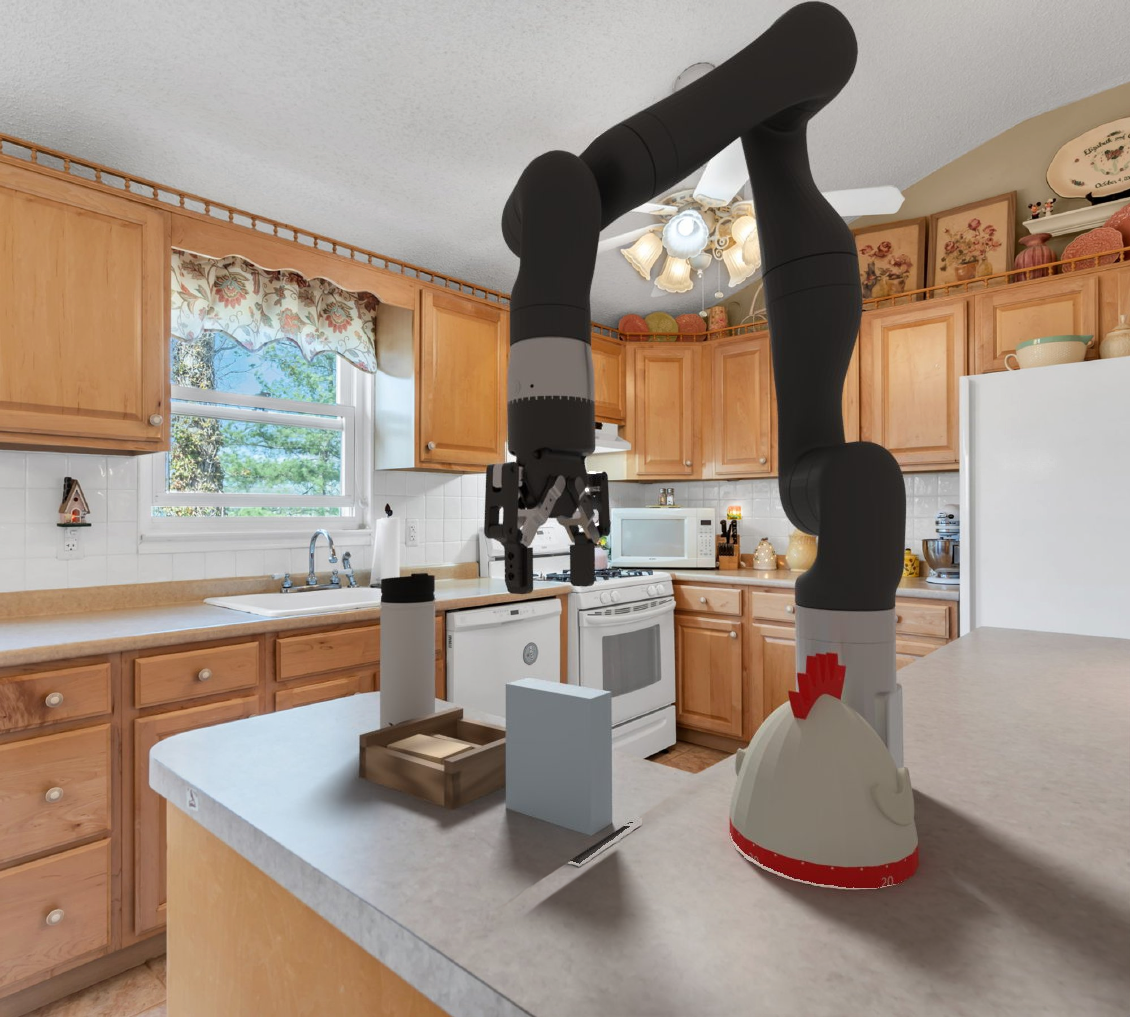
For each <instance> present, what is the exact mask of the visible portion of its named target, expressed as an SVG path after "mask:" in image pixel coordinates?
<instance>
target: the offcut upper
mask: <svg viewBox="0 0 1130 1017" xmlns="http://www.w3.org/2000/svg"><path fill="white" fill-rule="evenodd" d="M387 749H390V750H394V751H397V752H400V753H404V754H407V755H410V756H414V757H417V758H421V759H424V760H427V761H431V762H434V763H437V764H441V765H444V760H445V759H448V758H450V757H453V756H456V755H459V754H461V753H464V752H467V751H470V750H471V746H470V745H465V744H461V743H456V742H452V741H447V740H443V739H438V738H434V737H429V736H425V735H421V734H418V735H415V736H412V737H409V738H406V739H404V740H401V741H398V742H395V743H392V744H389V745H387Z"/></svg>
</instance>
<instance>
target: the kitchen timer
mask: <svg viewBox="0 0 1130 1017" xmlns="http://www.w3.org/2000/svg"><path fill="white" fill-rule="evenodd" d="M845 672H846V666H844V665H838V654H837V653H829V652H826V654H820V653H816V655H815V656H809V655H807V658H806V674H805V673H799V672H797V681H798V688H799V692H796V691H794V690H793V691H792V690H788V691H787V693H788V699H789V700H788V701H786V702H784V703H783V704H781V705H780V706H778V707H777V708H776V709H775V710H773V712H771V714H769V715H768V716H767V717H766V719H765V720H764V721H763V722H762V724H761V725H760V726H759V728H758V729H757V731H756V732H755V733H754V736H752V739H751V740H750V742H749V745H748V747H747V749H746V750H745V749H742V748H738V749H737V750H736V755H735V774H736V776H737V778H736V780H735V785H734V788H733V791H732V796H731V801H730V805H729V806H730V807H729V819H728V820H729V834H730V833H731V836H732V839H733V841H734V842H735V843H736V844H737V846H739V848H740V849H741V850H742V851H743V852H744V853H745V854H747V855H748V856H750V857H751V858H753V859H754V860H756V861H757V862H759V863H760V864H763V866H766V867H768V868H771V869H773V870H774V871H777V872H780V873H783V874H784V875H787V876H789V877H792V878H794V879H800V880H803V881H809V882H811V883H812V882H813V883H816V884H824V885H834V886H838V887H846V888H853V887H854V888H878V887H879V888H880V887H882V886H887V885H893V884H898V883H900V882H901V881H904V880H905V879H907V878H909V877H911V876H912V877H914V875H915V873H916V871H917V869H918V868H919V867H920V863H919V862H920V861H919V860H920V859H919V856H920V855H919V839H918V837H919V836H918V831H917V828H916V827H917V826H916V821H915V819H914V817H915V801H914V799H915V798H914V792H913V787H912V781H911V776H910V772H909V771H910V770H909V768H908V767H906V766H904V767H903V768H897V767H896V764H895V762H894V760H893V758H892V756H891V754H890V753H889V751H888V749H887V748H886V746H885V744H884V743H883V741H882V740H881V738H880V737H879V736H878V734H877V733H876V732H875V730H874V729H873V728H872V727H871V726H870V724H869V723H868V722H867V721H866V720H865V719H864V718H863V717H862V716H861V715H860V714H858V713H857V712H856V711H855V710H854V709H852V708H851V707H850V706H848V705H847V704H846V703H844V702H843V701H841V695H842V690H843V685H844V679H845ZM917 867H918V868H917ZM912 877H911V878H912ZM909 879H910V878H909ZM907 880H908V879H907ZM905 881H906V880H905ZM905 881H904V882H905ZM900 884H901V883H900Z"/></svg>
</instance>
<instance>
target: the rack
mask: <svg viewBox="0 0 1130 1017" xmlns="http://www.w3.org/2000/svg"><path fill="white" fill-rule="evenodd" d="M418 734H421V735H425V736H429V737H434V738H438V739H443V740H447V741H452V742H456V743H461V744H465V745H470V746H471V750H470V751H467V752H464V753H461V754H459V755H456V756H453V757H450V758H448V759H445V760H444V765H441V764H437V763H434V762H431V761H427V760H424V759H421V758H417V757H414V756H410V755H407V754H404V753H400V752H397V751H394V750H390V749H387V745H389V744H392V743H395V742H398V741H401V740H404V739H406V738H409V737H412V736H415V735H418ZM358 738H359V739H358V740H359V743H358V744H359V747H358V748H359V753H358V755H359V760H358V761H359V762H358V763H359V764H358V765H359V767H358V768H359V769H358V770H359V773H358V777H359V778H361V779H364V780H367V781H369V782H372V783H375V784H378V785H380V786H381V785H382V786H384V787H387V788H390V789H392V790H395V791H398V792H401V793H403V794H406V795H410V796H413V797H415V798H418V799H421V800H424V801H426V802H429V803H432V804H435V805H437V806H440V807H443V808H446V809H449V810H455V809H457V808H459V807H462V806H463V805H466V804H468V803H470V802H472V801H475V800H477V799H480V798H482V797H484V796H486V795H488V794H490V793H493V792H495V791H497V790H500V789H502V788H504V787H506V726H501V725H497V724H493V723H490V722H489V723H488V722H486V721H485V722H484V721H481V720H475V719H471V718H468V717H464V708H462V707H458V706H457V707H453V708H449V709H446V710H445V709H444V710H442V711H439V712H435V714H431V715H428V716H424V717H421V718H417V719H414V720H410V721H407V722H403V723H400V724H396V725H393V726H389V727H386V728H382V729H380V728H379V729H376V730H372V731H368V732H365V733H361V734H359V737H358Z"/></svg>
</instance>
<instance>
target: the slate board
mask: <svg viewBox="0 0 1130 1017" xmlns="http://www.w3.org/2000/svg"><path fill="white" fill-rule="evenodd" d="M612 698H613V696H612V691H608V690H603V689H597V688H592V687H587V686H586V687H585V686H581V685H580V686H579V685H575V684H568V683H562V682H556V681H549V680H544V679H537V678H533V677H525V678H522V679H517V680H513V681H511V682H507V683H505V727H506V786H505V808H506V809H507V810H511V811H514V812H517V813H520V814H523V815H525V816H526V815H527V816H529V817H531V818H532V817H533V818H535V819H539V820H542V821H544V822H548V823H550V824H554V825H557V826H558V827H559V826H560V827H563V828H565V829H570V830H572V831H574V832H578V833H581V834H583V835H587V836H590V837H591V836H593V835H595V834H597V833H598V832H601V831H602V830H603V829H605V828H606V827H608V826H610V825H611V824H612V823H613V745H612V744H613V743H612V742H613V732H612V731H613V730H612V728H613V727H612V726H613V725H612V724H613V722H612V721H613V720H612V718H613V715H612V711H613V710H612V709H613V708H612V705H613V704H612Z"/></svg>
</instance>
